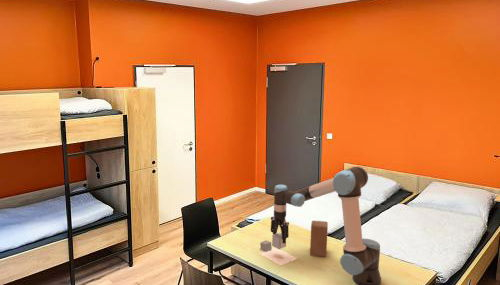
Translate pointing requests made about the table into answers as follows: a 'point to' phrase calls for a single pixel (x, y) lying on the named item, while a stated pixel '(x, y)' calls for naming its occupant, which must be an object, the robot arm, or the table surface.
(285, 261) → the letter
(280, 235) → the slate cube
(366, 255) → the robot arm
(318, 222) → the wooden block
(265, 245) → the grey cube
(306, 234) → the table surface
